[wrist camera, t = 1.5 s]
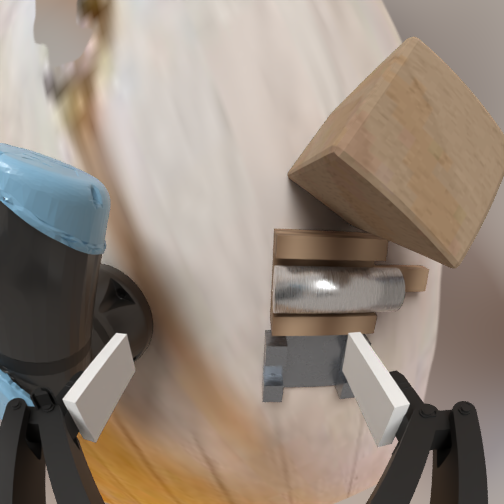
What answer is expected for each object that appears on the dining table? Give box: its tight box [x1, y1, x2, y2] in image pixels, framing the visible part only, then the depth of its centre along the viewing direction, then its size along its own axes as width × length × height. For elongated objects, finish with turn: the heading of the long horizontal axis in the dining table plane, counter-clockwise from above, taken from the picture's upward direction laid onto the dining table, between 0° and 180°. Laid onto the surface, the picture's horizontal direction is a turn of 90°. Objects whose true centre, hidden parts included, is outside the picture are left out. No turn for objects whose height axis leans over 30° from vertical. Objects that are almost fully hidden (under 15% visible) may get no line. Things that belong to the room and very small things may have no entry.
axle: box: [273, 265, 405, 314], centre depth 29 cm, size 14×5×5 cm, turn 89°
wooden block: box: [288, 37, 504, 268], centre depth 21 cm, size 10×10×20 cm
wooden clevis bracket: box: [270, 229, 429, 336], centre depth 31 cm, size 20×11×5 cm, turn 89°
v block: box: [262, 330, 371, 402], centre depth 34 cm, size 13×9×4 cm
